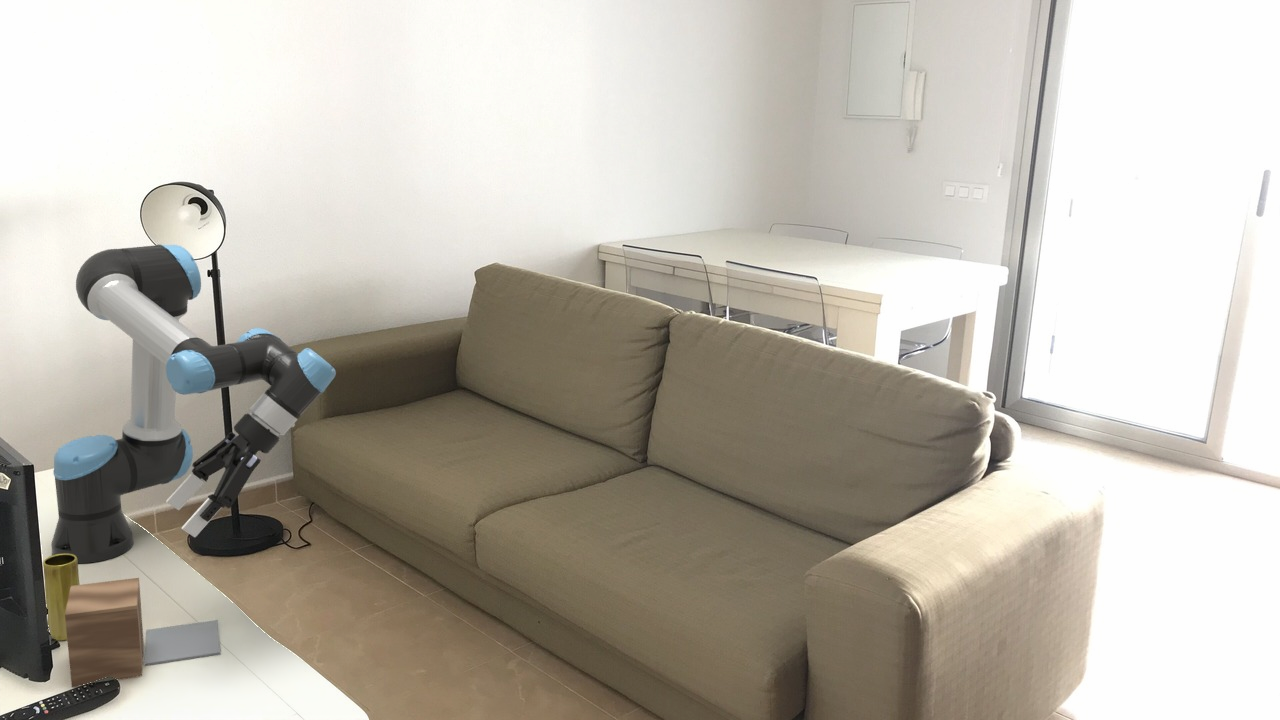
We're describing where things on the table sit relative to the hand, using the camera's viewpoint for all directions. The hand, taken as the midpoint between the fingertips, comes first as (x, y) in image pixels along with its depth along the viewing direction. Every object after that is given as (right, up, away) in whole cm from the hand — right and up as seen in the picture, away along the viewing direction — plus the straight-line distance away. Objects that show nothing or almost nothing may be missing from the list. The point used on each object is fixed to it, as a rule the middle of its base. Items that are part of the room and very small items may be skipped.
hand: (179, 519), depth 177 cm
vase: (-23, -21, +6) cm, 32 cm away
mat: (-2, -23, +5) cm, 23 cm away
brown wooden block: (-10, -24, -4) cm, 27 cm away
